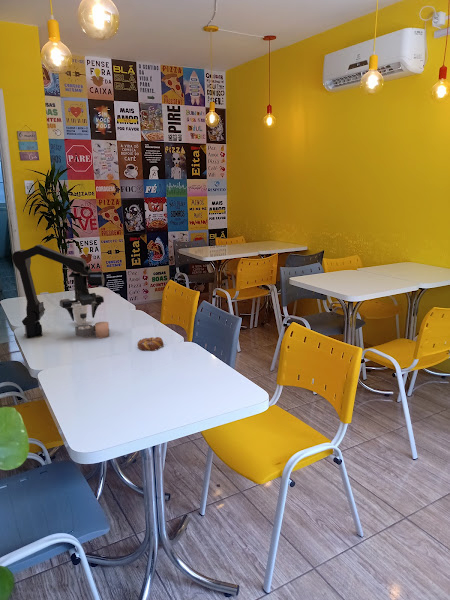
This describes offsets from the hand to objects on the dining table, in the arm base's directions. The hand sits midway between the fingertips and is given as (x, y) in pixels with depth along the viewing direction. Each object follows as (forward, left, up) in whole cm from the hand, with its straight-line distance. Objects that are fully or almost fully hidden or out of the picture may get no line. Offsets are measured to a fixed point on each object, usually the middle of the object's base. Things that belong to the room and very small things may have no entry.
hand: (83, 319), depth 207 cm
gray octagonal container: (+1, 0, -7) cm, 7 cm away
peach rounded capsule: (+6, -7, -7) cm, 12 cm away
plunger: (0, 0, -4) cm, 4 cm away
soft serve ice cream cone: (+4, +18, -8) cm, 20 cm away
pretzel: (+18, -33, -8) cm, 38 cm away
